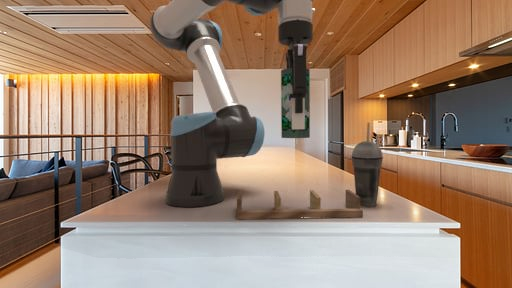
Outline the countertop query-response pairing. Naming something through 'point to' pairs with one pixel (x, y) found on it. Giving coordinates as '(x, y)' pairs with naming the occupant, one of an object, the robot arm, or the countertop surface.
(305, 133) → the can
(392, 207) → the countertop surface
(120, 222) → the countertop surface
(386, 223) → the countertop surface
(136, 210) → the countertop surface
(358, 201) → the notch rack
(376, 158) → the beverage cup
